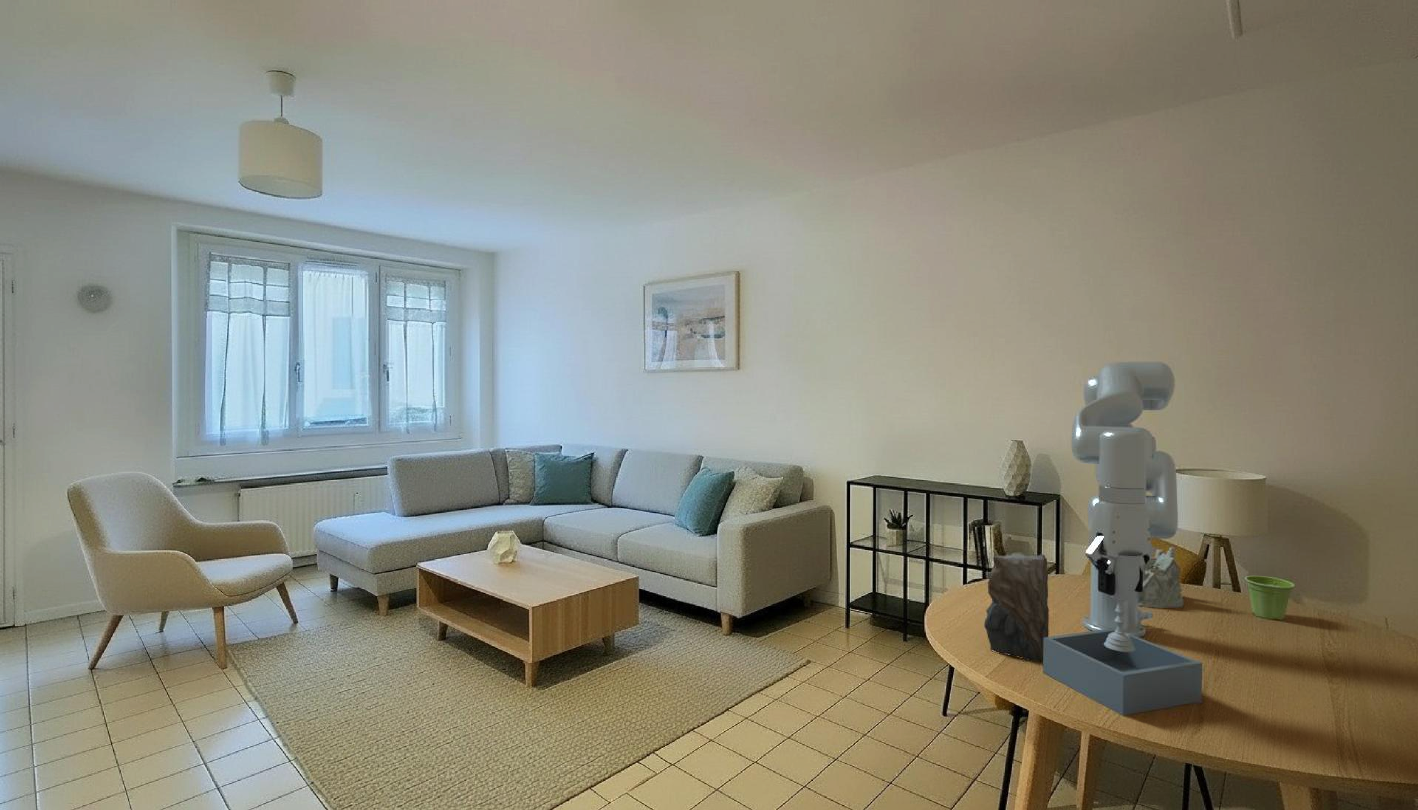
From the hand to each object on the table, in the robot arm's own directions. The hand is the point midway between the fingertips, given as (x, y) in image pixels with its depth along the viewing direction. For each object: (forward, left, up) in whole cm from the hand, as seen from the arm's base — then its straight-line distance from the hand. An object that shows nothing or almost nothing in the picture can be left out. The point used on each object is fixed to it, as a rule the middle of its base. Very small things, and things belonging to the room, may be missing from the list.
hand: (1120, 590), depth 126 cm
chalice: (0, 0, -11) cm, 11 cm away
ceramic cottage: (-53, -39, -19) cm, 69 cm away
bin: (0, 0, -18) cm, 18 cm away
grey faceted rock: (+5, -19, -18) cm, 27 cm away
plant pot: (-69, -20, -18) cm, 74 cm away
